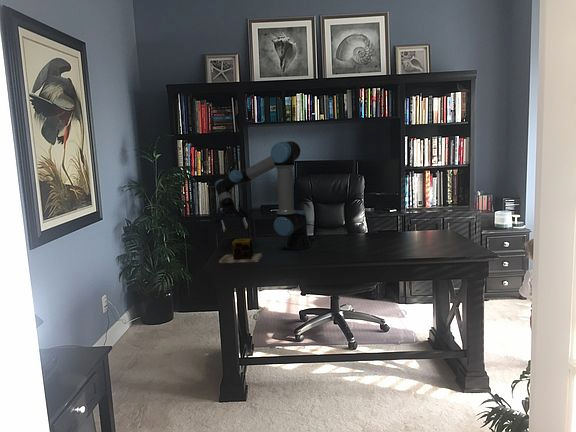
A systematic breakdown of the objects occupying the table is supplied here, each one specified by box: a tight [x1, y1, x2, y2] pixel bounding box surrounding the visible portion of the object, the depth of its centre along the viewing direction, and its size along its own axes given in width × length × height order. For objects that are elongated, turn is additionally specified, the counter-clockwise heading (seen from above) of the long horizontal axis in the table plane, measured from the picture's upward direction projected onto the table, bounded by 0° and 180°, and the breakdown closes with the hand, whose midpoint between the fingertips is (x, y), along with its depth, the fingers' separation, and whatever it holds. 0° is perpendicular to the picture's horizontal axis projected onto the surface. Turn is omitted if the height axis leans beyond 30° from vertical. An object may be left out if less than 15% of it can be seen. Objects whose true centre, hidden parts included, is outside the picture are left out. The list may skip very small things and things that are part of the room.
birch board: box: [218, 253, 263, 264], centre depth 283 cm, size 22×14×2 cm, turn 82°
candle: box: [231, 237, 254, 260], centre depth 280 cm, size 10×10×10 cm
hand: (235, 228), depth 289 cm, fingers open, 13 cm apart
